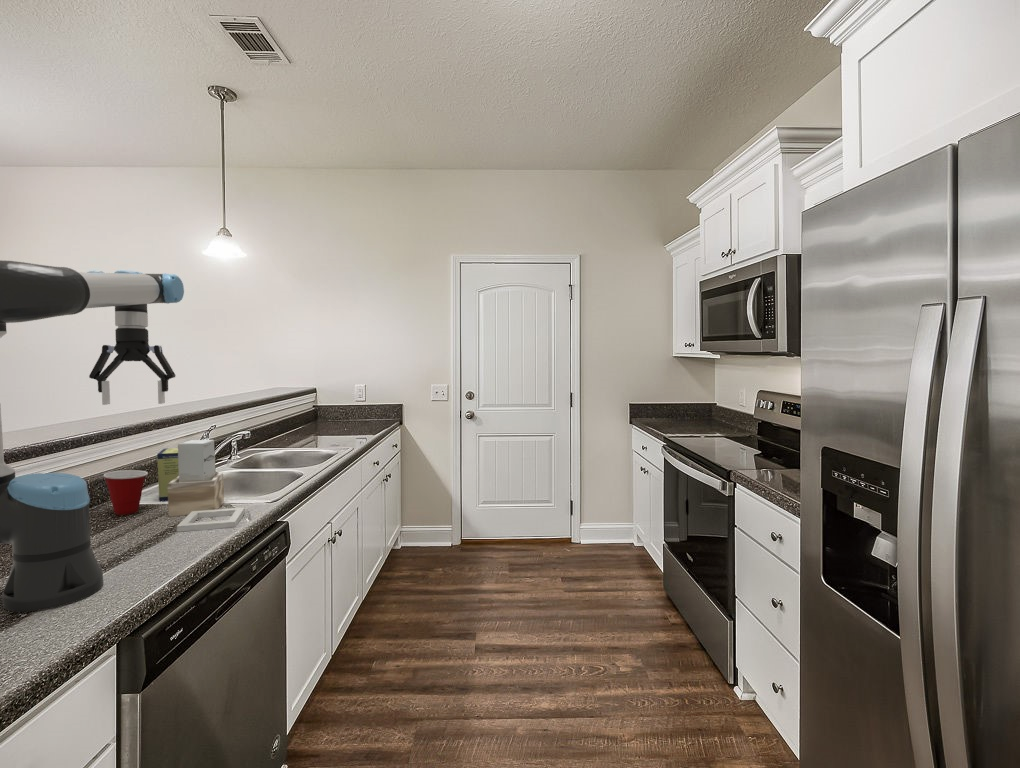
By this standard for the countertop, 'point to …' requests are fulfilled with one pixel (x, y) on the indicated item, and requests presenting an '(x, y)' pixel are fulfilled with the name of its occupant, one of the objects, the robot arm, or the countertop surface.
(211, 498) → the tray
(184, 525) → the white flat square frame
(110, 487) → the plastic cup
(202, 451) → the supplement box
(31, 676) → the countertop surface
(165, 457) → the protein box
